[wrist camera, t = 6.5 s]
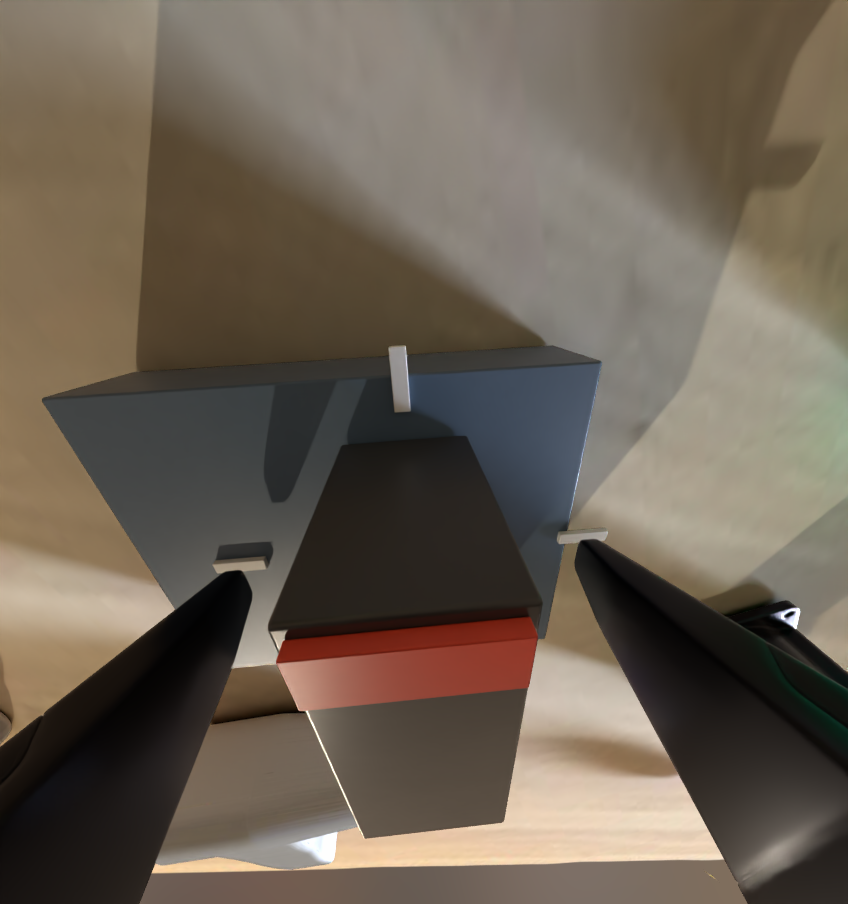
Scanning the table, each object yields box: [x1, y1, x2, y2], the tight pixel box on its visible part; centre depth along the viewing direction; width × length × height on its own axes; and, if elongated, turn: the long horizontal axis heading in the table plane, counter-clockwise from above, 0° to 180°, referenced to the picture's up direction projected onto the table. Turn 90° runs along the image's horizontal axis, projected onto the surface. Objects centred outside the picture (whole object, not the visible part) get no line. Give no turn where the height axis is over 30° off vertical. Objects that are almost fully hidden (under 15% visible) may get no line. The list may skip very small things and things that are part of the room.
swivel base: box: [42, 345, 608, 668], centre depth 10 cm, size 13×11×3 cm
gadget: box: [268, 436, 543, 839], centre depth 7 cm, size 7×3×5 cm, turn 3°
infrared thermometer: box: [156, 713, 358, 870], centre depth 18 cm, size 5×12×15 cm
